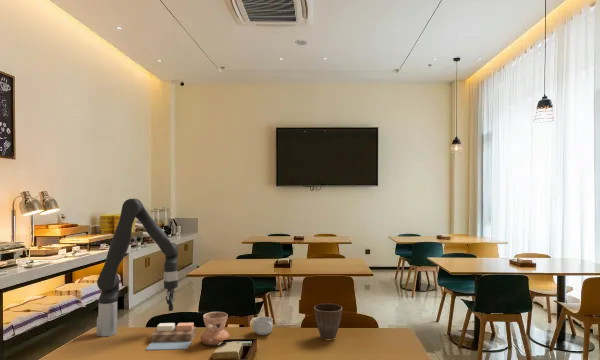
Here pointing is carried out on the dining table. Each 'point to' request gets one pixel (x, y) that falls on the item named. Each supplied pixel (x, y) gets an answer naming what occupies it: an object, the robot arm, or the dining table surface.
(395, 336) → the dining table surface
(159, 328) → the cream block
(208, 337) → the ceramic jug
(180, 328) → the terracotta block
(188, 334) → the walnut stand
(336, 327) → the plant pot
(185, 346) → the rubber mat
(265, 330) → the teacup
